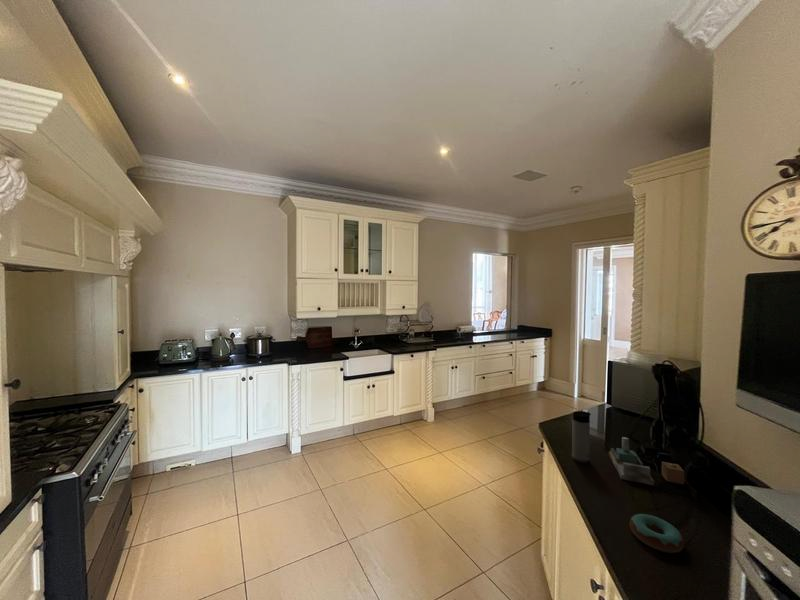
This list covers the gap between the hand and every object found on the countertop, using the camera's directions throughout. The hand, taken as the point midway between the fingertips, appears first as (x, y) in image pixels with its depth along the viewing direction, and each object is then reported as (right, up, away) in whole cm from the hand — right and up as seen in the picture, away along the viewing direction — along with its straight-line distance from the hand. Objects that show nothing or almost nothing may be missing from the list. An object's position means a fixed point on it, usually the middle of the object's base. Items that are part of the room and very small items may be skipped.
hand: (672, 476), depth 117 cm
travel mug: (-27, -1, +13) cm, 30 cm away
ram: (-9, +1, +11) cm, 15 cm away
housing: (0, -1, 0) cm, 1 cm away
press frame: (-11, -1, +7) cm, 13 cm away
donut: (-31, -1, -29) cm, 43 cm away
